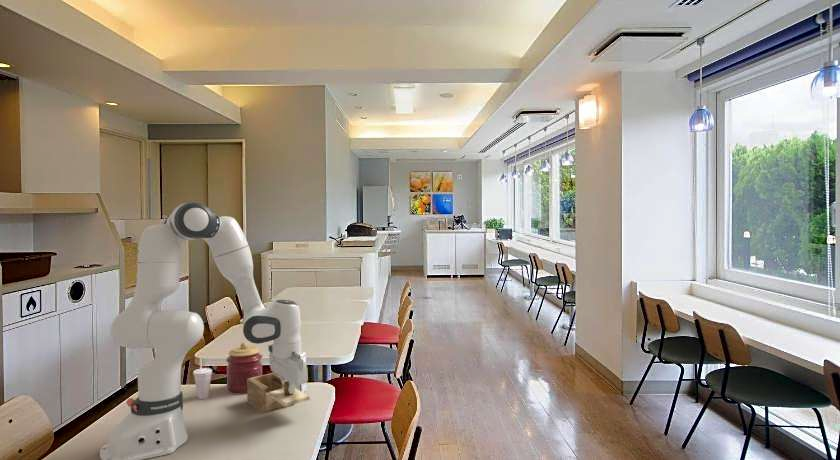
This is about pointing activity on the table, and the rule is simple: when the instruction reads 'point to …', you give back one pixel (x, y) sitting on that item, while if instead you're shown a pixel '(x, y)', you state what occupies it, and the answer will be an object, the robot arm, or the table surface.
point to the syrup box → (303, 386)
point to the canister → (242, 367)
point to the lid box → (264, 392)
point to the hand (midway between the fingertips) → (288, 391)
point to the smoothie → (202, 381)
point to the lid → (288, 396)
